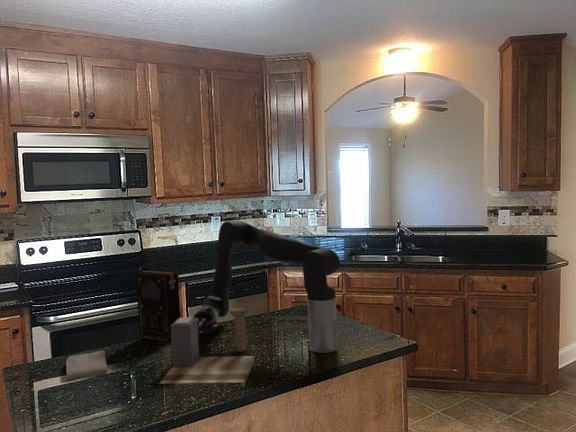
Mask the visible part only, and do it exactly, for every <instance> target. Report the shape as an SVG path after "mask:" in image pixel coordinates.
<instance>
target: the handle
mask: <svg viewBox="0 0 576 432" xmlns="http://www.w3.org/2000/svg"><path fill="white" fill-rule="evenodd" d="M249 312H250V307H249V306H235V307H232V308H229V314H230V315H232V316H233V317H234V343H235V349H236V352H238V353H239V352H246V351H247V350H248V349H247V346H248V335H247V333H248V332H247V327H246V325H247V324H246V315H247V314H248V313H249Z"/></svg>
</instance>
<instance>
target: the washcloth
mask: <svg viewBox="0 0 576 432" xmlns="http://www.w3.org/2000/svg"><path fill="white" fill-rule="evenodd" d="M65 363H66V364H65V365H66V366H65V367H66V371H65V372H66V380H67V381H71V380H72V381H73V380H78V379H81V378H88V377H93V376H94V375H95V376H98V375H105V374H107V373H108V372H109V369H108V364H107V359H106V351H104V350H99V351H95V352H90V353H79V354H75V355H69V356H68V357H67V358H66V361H65Z"/></svg>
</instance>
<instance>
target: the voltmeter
mask: <svg viewBox="0 0 576 432" xmlns="http://www.w3.org/2000/svg"><path fill="white" fill-rule="evenodd" d="M135 282H136V285H135V286H136V296H137V313H138V325H139V338H140V339H142V340H146V339H147V341H153V342H158V343H172V339H171V325H172V324H173V323H174V322H175V321H176V320H177V319H178V318H181V305H180V291H179V289H180V288H179V273H178V272H174V271H173V272H171V271H161V270H160V271H159V270H142V271H140V272H136V273H135Z"/></svg>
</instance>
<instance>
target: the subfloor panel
mask: <svg viewBox="0 0 576 432" xmlns="http://www.w3.org/2000/svg"><path fill="white" fill-rule="evenodd" d="M254 361H255V356H254V355H246V356H245V355H244V356H243V355H242V356H241V355H239V356H237V355H236V356H232V355H231V356H199V359H198V360H197V362H196V363H195V365H194V366H193V367H182V368H173V366H172V367H171V368H170V369H169V370H168V371H167V373H166V374H165V375H164V377H162V379H161V380H160V382H159V383H158V384H161V385H162V384H164V385H165V384H172V385H173V384H222V383H224V384H226V383H227V384H228V383H229V384H232V383H233V384H235V383H238V384H239V383H241V384H240V387H245V386H246V385H245V384H246V382H247V380H248V378H249V374H250V372H251V370H252V366H253V364H254Z"/></svg>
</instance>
